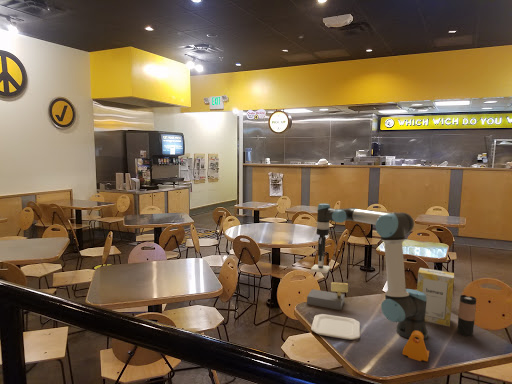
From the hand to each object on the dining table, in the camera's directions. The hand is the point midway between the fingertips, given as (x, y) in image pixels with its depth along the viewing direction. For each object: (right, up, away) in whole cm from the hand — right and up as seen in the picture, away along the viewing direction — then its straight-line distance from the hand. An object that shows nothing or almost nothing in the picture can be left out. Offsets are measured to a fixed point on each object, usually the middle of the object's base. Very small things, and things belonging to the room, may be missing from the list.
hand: (320, 265), depth 231 cm
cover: (0, -3, 0) cm, 3 cm away
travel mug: (+72, -30, -34) cm, 85 cm away
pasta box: (+62, -28, -17) cm, 70 cm away
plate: (+2, -28, -34) cm, 44 cm away
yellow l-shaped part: (+11, -19, +1) cm, 22 cm away
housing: (+3, -24, +1) cm, 24 cm away
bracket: (+34, -31, -59) cm, 75 cm away
